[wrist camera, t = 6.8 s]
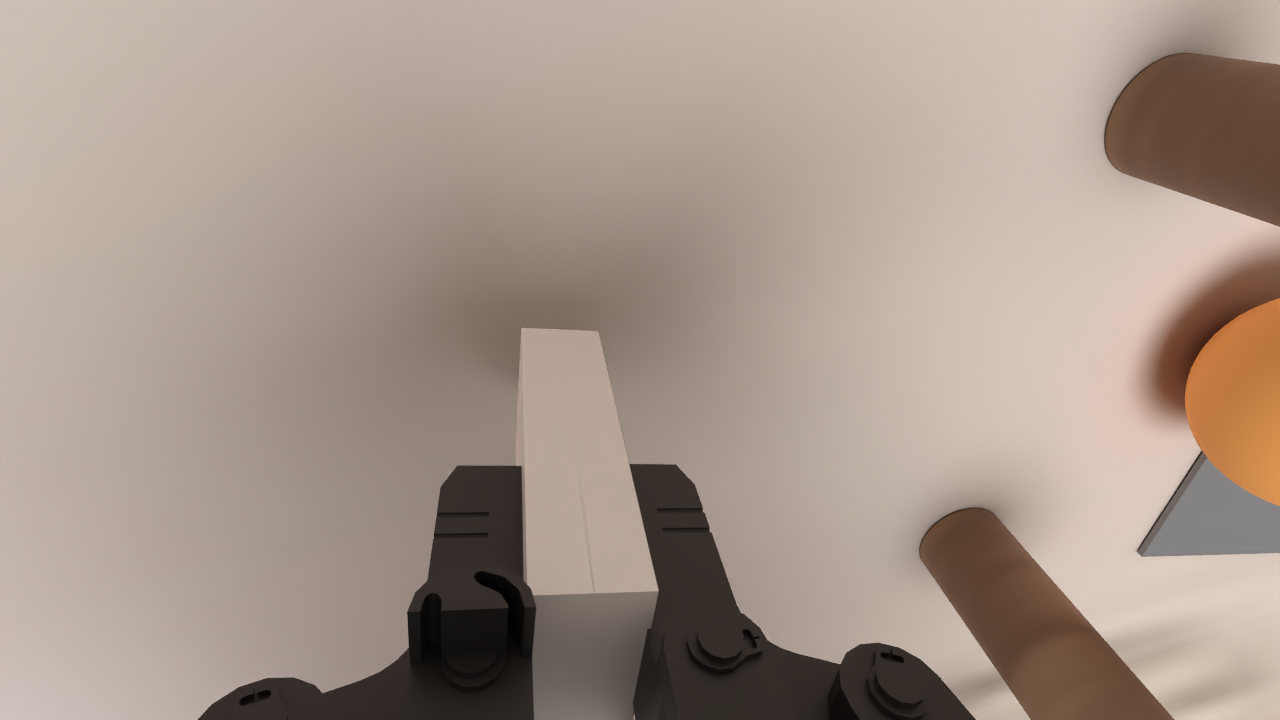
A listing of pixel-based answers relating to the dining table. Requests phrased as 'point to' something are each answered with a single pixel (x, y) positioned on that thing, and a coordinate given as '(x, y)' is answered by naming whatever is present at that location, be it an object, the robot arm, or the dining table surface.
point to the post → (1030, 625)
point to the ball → (1240, 400)
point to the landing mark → (1213, 518)
